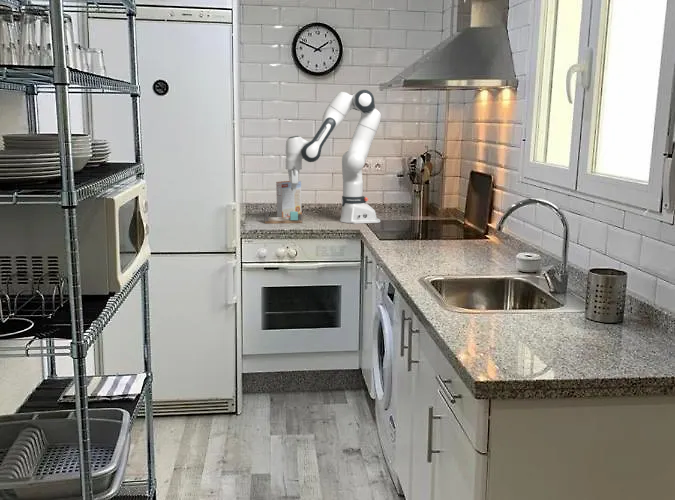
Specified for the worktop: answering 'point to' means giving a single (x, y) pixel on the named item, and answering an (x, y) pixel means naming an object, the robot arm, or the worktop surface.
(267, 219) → the track
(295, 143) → the robot arm
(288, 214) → the cracker box
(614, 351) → the worktop surface
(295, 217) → the teal slider block
